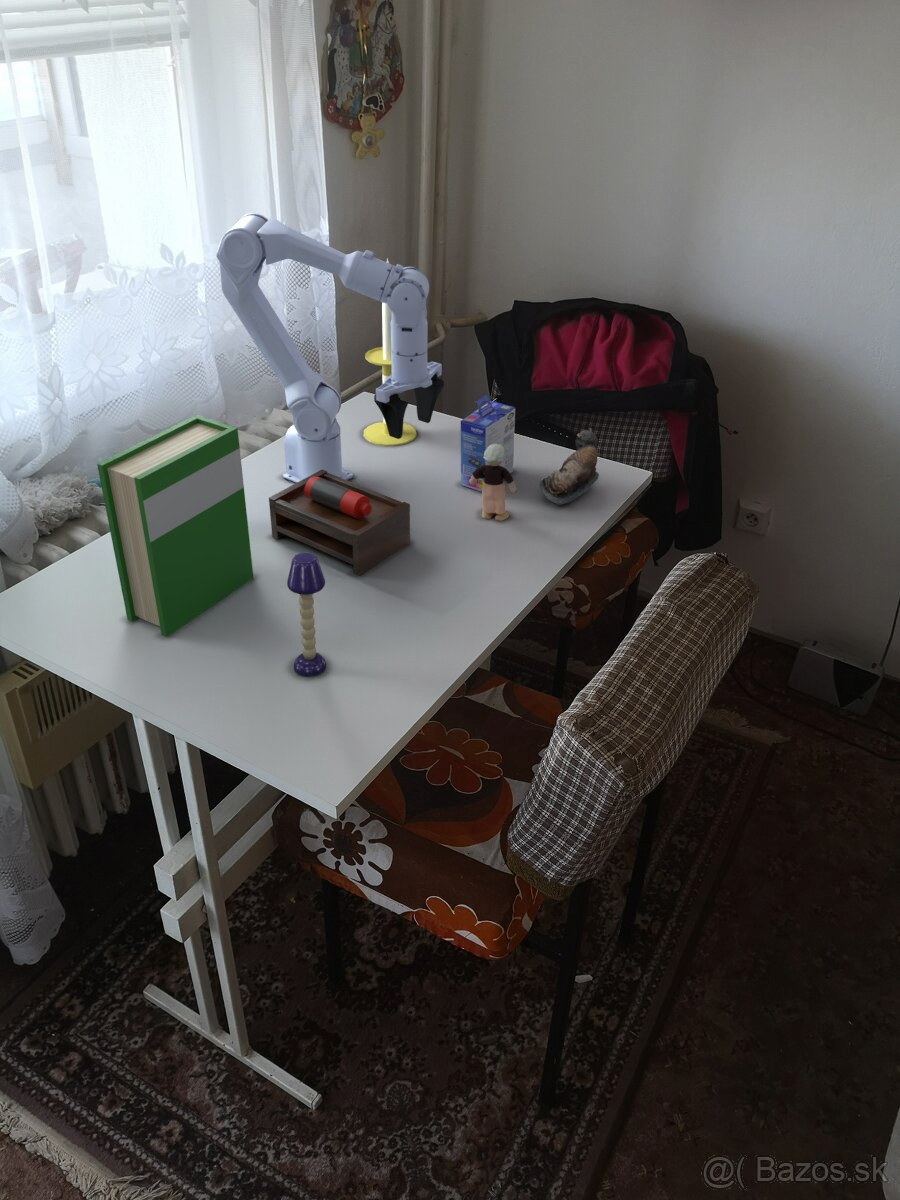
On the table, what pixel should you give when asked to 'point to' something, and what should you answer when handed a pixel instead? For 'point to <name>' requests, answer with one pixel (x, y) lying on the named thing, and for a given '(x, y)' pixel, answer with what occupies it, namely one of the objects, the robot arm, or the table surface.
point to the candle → (383, 358)
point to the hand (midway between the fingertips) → (410, 428)
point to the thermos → (337, 497)
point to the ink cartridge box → (486, 438)
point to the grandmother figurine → (494, 483)
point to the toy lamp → (307, 610)
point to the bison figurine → (573, 472)
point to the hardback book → (178, 521)
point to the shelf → (342, 524)
